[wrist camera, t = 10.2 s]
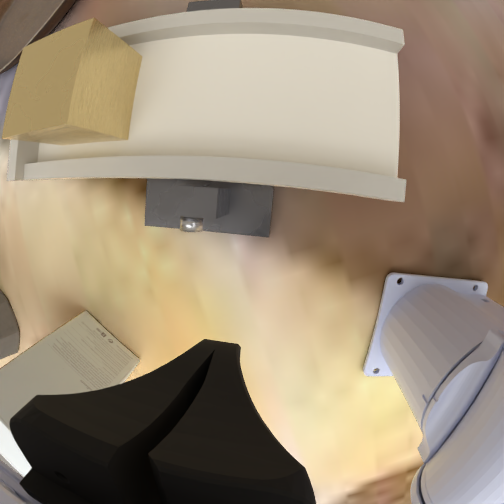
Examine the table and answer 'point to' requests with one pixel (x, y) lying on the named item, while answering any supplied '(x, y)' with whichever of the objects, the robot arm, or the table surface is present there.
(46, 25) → the plant saucer
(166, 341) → the table surface
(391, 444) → the table surface
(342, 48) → the beam
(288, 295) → the table surface
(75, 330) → the small box
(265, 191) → the pivot stand
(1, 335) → the coffeepot
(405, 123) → the table surface
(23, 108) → the brass block
